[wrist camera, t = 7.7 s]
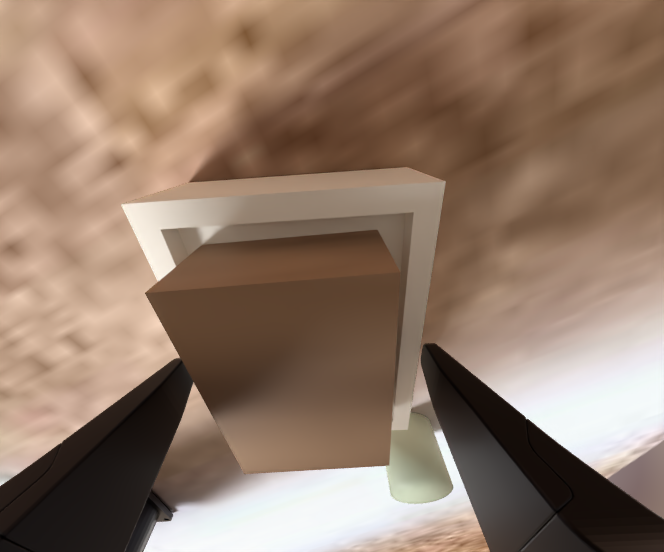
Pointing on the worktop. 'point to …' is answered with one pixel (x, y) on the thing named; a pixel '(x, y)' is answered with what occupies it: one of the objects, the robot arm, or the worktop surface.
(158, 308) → the lid
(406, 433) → the knob
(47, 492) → the robot arm
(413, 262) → the box base
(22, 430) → the worktop surface
